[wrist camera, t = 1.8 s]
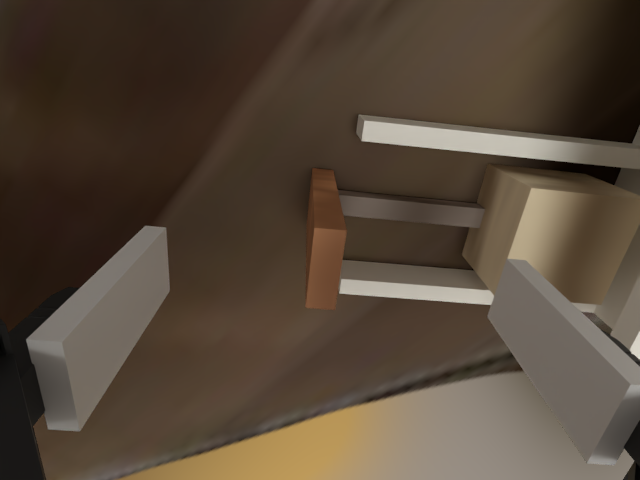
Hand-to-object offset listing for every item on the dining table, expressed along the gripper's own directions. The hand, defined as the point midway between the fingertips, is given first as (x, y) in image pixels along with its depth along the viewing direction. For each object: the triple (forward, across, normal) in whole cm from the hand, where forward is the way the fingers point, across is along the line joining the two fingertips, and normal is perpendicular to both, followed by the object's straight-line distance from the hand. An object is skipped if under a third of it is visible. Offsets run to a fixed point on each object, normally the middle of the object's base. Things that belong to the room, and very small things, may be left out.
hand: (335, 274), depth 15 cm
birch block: (+9, +7, 0) cm, 12 cm away
